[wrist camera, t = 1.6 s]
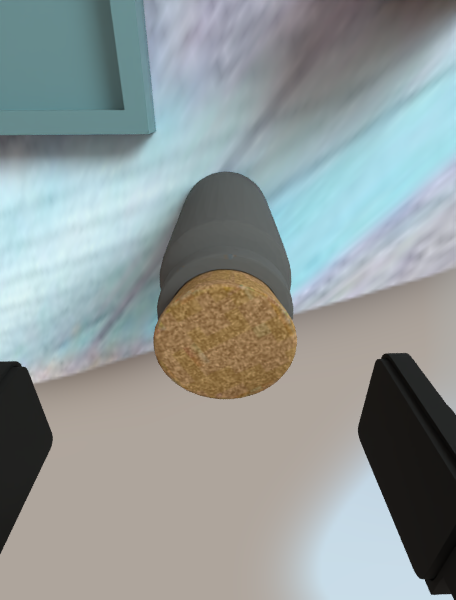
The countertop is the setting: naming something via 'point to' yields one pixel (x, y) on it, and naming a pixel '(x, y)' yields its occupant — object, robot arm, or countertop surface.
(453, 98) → the countertop surface
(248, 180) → the bottle
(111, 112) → the tray
